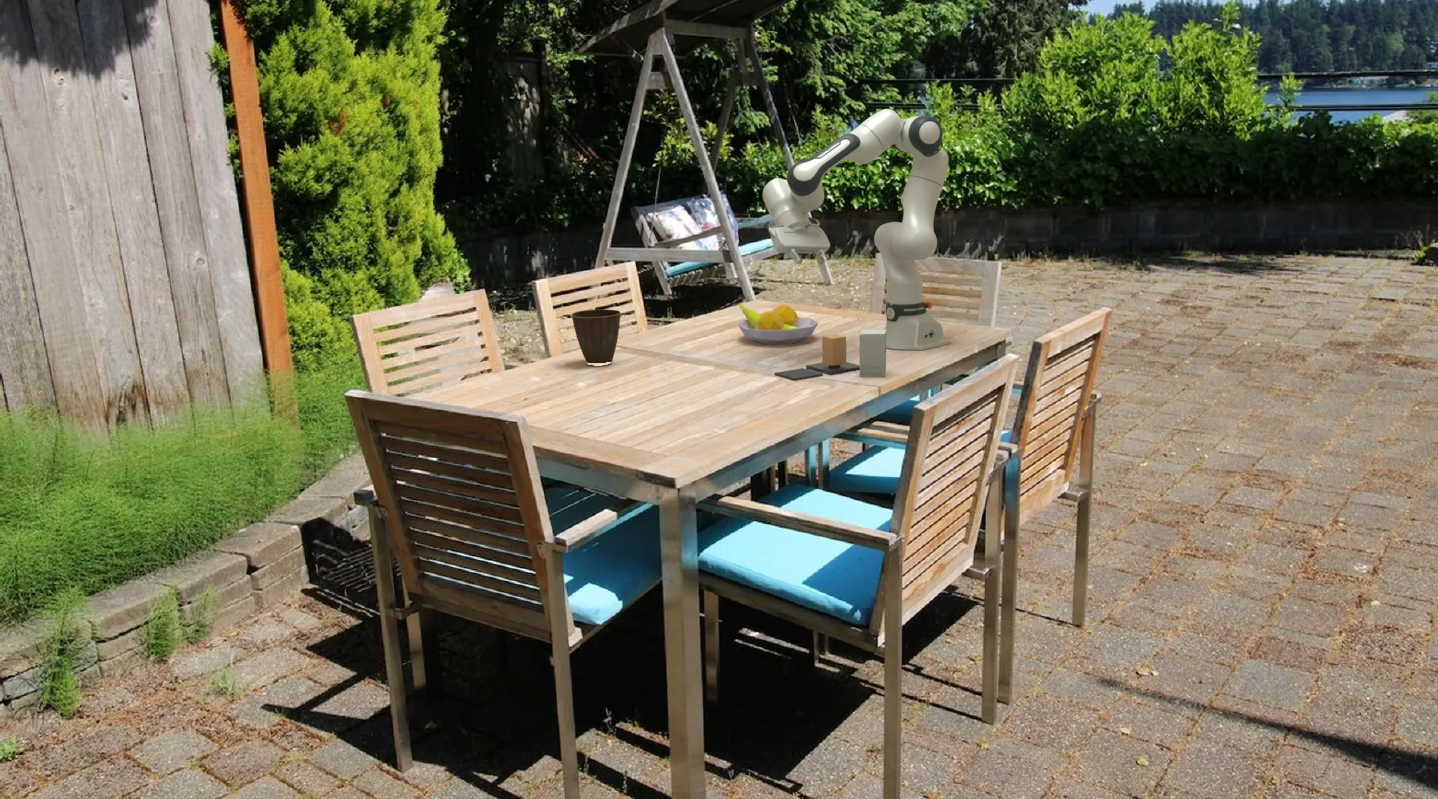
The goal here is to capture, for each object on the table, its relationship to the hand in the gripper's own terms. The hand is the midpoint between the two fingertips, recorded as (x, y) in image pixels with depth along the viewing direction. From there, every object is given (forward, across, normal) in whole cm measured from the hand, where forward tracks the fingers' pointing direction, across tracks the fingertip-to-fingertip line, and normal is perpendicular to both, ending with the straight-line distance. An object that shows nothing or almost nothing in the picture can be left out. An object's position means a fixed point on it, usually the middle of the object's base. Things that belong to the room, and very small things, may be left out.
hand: (811, 262), depth 359 cm
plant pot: (-5, -43, +59) cm, 73 cm away
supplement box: (+40, +3, +1) cm, 40 cm away
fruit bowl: (-2, +20, +45) cm, 49 cm away
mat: (+31, -12, +13) cm, 36 cm away
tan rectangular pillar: (+29, 0, +10) cm, 31 cm away
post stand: (+31, +1, +11) cm, 33 cm away
